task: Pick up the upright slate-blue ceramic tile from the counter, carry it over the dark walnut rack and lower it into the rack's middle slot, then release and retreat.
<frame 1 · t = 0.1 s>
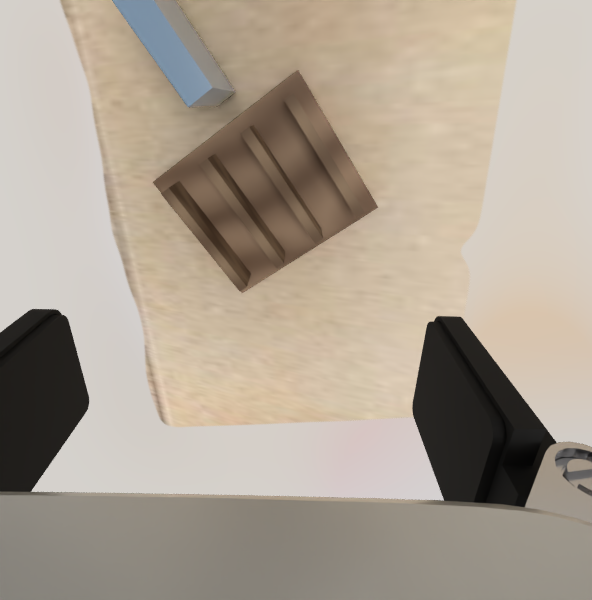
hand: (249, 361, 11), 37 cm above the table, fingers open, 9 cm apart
tile: (194, 51, 39), on the table
rack: (267, 192, 45), on the table
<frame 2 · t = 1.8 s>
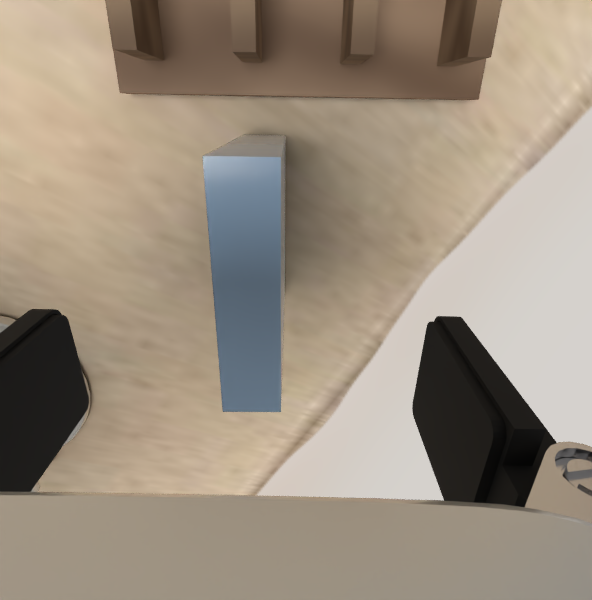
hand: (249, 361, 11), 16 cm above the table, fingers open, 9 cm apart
tile: (266, 220, 25), on the table
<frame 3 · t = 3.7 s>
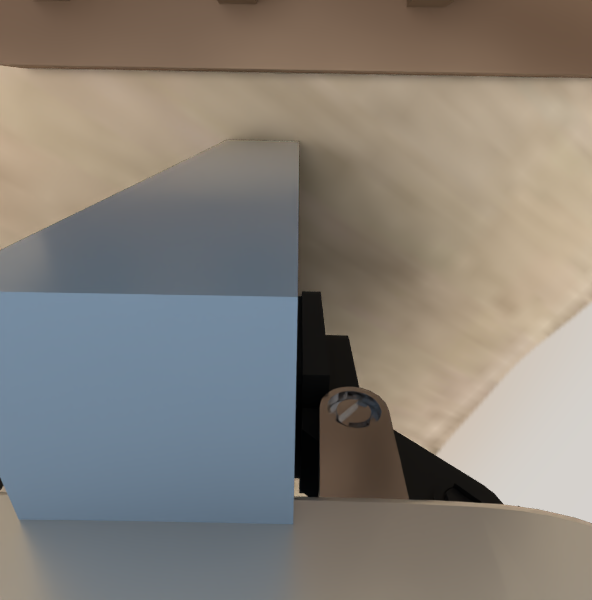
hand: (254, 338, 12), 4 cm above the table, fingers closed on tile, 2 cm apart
tile: (265, 278, 15), on the table, touching gripper
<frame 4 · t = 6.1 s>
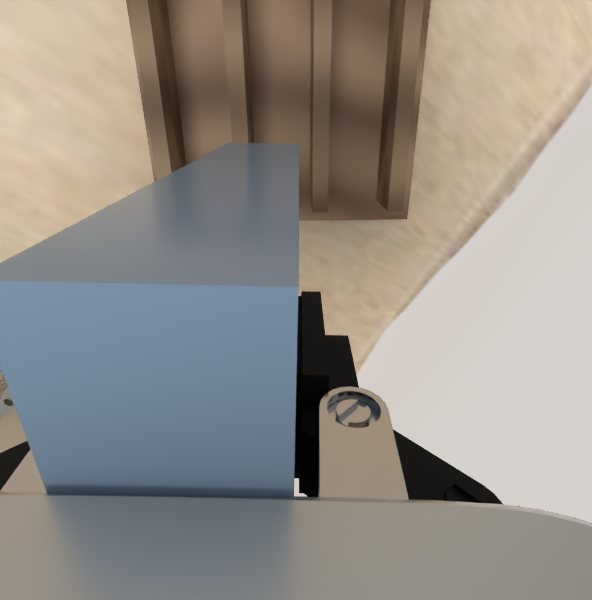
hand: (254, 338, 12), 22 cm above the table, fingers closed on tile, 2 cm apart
tile: (266, 277, 16), point 17 cm above the table, touching gripper
rack: (281, 105, 29), on the table
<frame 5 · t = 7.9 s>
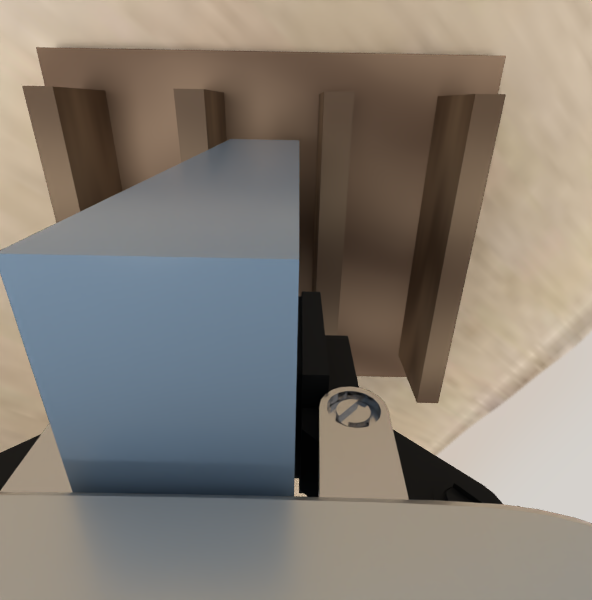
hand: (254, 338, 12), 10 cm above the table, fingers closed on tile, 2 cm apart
tile: (267, 272, 16), point 5 cm above the table, touching gripper
rack: (274, 234, 21), on the table
when the fingers open (7 cm above the table, at t = 8.9 s): tile stays where it is, resting on rack.
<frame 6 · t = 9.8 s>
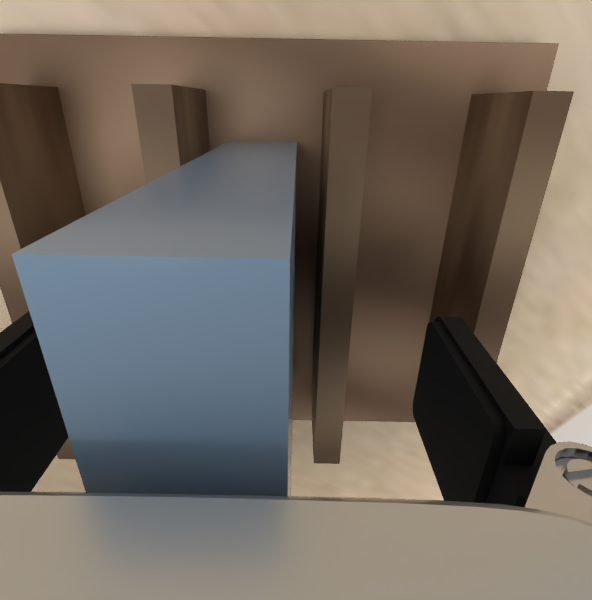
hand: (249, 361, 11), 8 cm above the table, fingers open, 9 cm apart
tile: (265, 271, 16), point 1 cm above the table, touching rack
rack: (269, 259, 17), on the table
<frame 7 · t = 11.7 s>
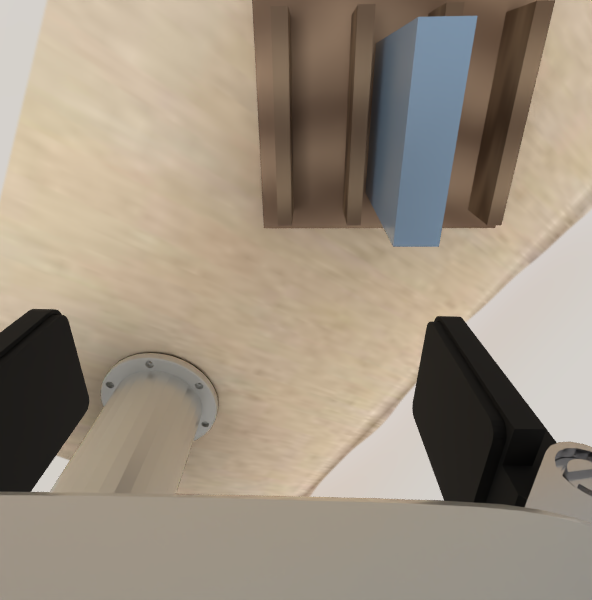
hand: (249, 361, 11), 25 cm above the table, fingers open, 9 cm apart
tile: (386, 123, 29), point 1 cm above the table, touching rack
rack: (385, 121, 30), on the table
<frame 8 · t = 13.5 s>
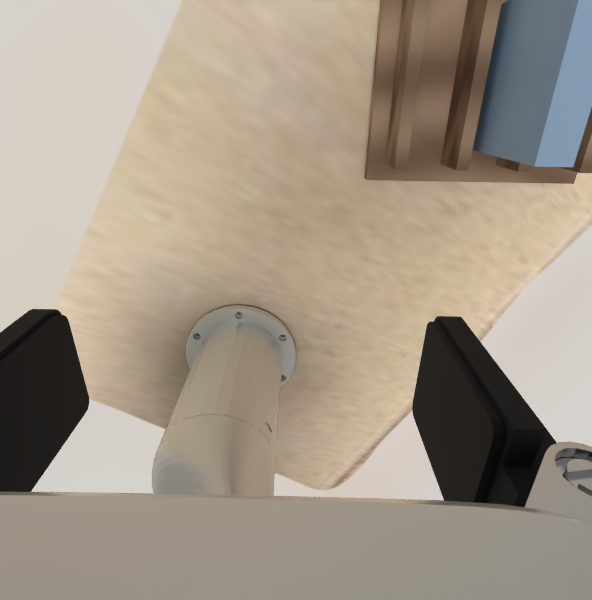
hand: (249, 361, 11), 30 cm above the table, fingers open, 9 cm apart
tile: (489, 83, 33), point 1 cm above the table, touching rack
rack: (484, 83, 34), on the table
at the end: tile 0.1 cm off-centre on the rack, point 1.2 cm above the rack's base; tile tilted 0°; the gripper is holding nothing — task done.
